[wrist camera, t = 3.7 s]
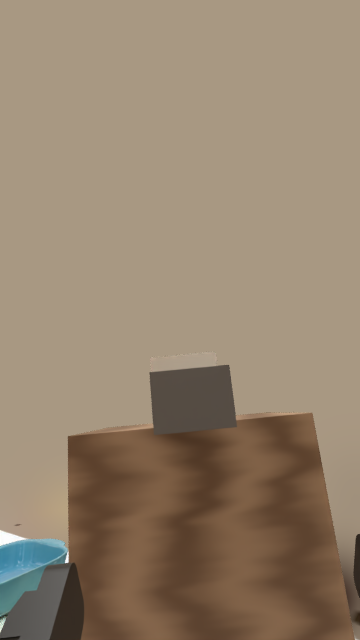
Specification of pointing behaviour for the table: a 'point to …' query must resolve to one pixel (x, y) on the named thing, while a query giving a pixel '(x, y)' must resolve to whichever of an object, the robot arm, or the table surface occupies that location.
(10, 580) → the casserole dish
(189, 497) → the stand
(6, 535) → the table surface
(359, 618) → the table surface
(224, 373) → the plug
